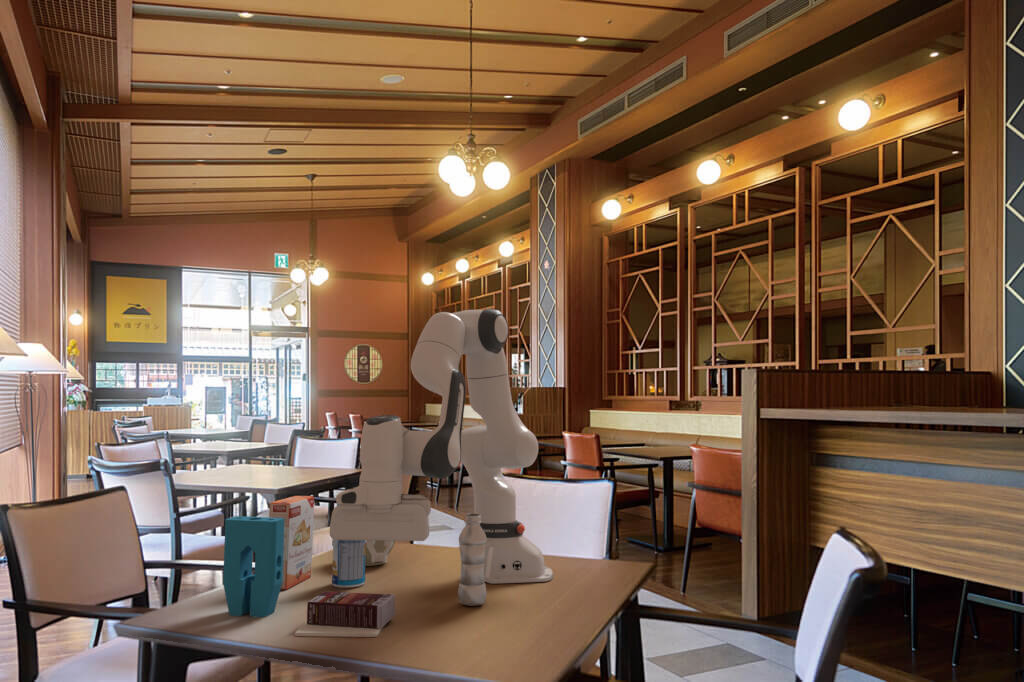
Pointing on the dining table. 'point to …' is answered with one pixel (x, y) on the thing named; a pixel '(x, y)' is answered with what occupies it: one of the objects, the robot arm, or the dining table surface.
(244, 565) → the block
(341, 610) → the supplement box
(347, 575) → the beverage bottle
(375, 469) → the robot arm
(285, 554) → the cracker box
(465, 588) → the plastic bottle
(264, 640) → the dining table surface
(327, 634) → the felt mat
